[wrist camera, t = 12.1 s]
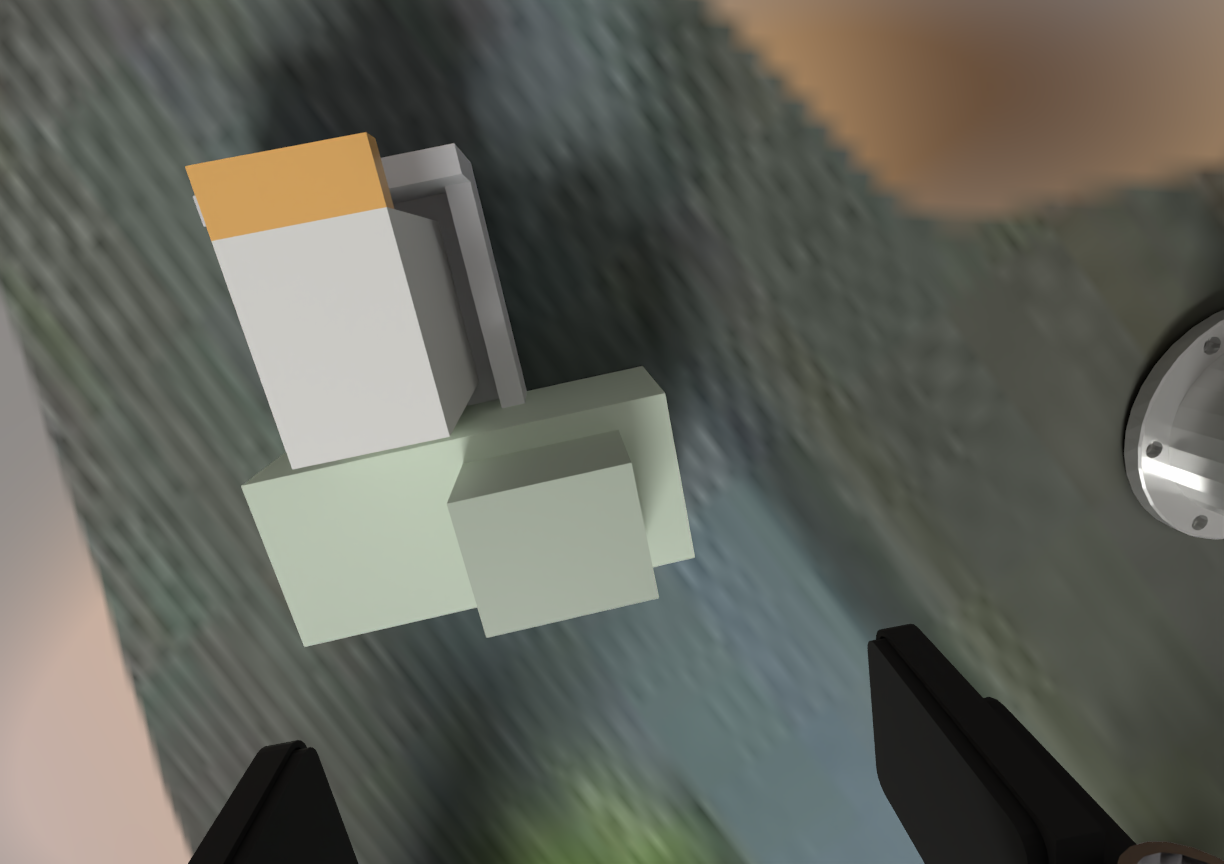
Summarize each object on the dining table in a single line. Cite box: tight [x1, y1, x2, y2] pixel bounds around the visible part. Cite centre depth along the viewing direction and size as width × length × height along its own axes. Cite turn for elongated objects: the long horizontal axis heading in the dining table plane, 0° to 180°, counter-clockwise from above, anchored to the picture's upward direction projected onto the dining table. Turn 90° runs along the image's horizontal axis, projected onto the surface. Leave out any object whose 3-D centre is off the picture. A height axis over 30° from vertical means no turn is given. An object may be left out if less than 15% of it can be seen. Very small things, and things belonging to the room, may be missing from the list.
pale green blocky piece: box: [193, 143, 695, 647], centre depth 24 cm, size 16×17×10 cm
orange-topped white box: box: [185, 132, 479, 470], centre depth 23 cm, size 5×9×9 cm, turn 11°
